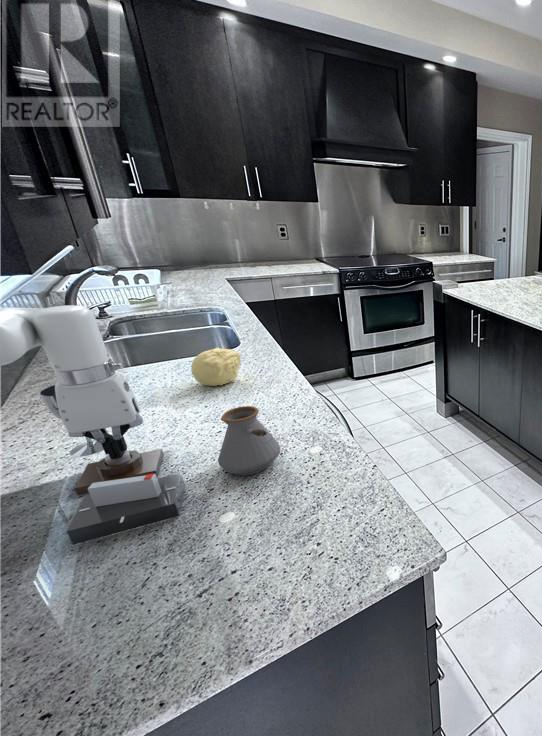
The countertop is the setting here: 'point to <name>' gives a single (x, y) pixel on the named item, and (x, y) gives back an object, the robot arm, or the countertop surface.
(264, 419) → the countertop surface
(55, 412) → the wine glass
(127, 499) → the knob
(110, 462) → the button
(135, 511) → the dark grey flat block
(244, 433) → the coffee pot
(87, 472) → the switch block
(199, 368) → the pale yellow lumpy ball
